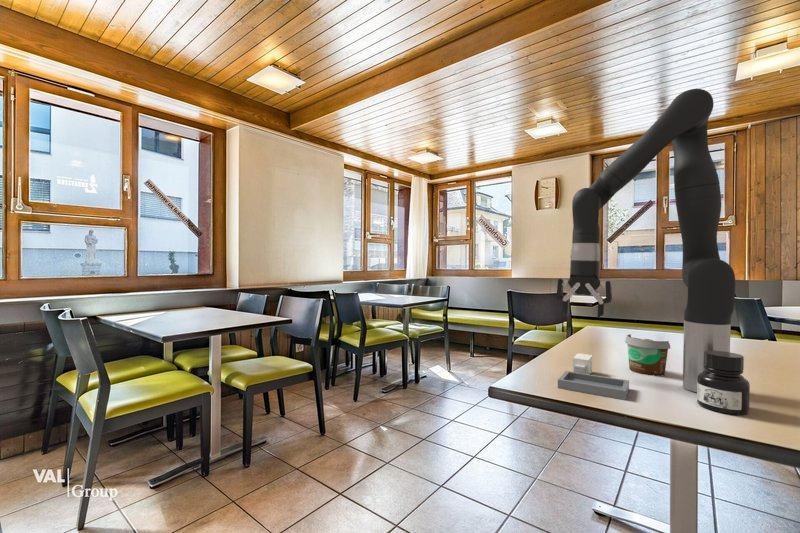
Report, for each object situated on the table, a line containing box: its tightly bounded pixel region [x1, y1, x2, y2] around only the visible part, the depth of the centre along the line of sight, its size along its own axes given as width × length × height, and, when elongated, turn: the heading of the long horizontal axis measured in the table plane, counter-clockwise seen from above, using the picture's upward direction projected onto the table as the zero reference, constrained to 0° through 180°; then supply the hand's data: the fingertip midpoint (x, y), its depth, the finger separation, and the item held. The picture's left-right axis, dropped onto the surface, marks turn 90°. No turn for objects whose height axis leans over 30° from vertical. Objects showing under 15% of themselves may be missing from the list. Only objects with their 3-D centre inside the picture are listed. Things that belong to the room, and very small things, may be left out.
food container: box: [624, 333, 672, 377], centre depth 114 cm, size 12×6×10 cm, turn 25°
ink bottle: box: [696, 351, 751, 415], centre depth 86 cm, size 10×9×12 cm
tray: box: [557, 370, 630, 401], centre depth 98 cm, size 15×10×2 cm, turn 56°
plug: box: [572, 353, 593, 375], centre depth 111 cm, size 4×9×5 cm, turn 146°
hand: (582, 315), depth 112 cm, fingers open, 8 cm apart
